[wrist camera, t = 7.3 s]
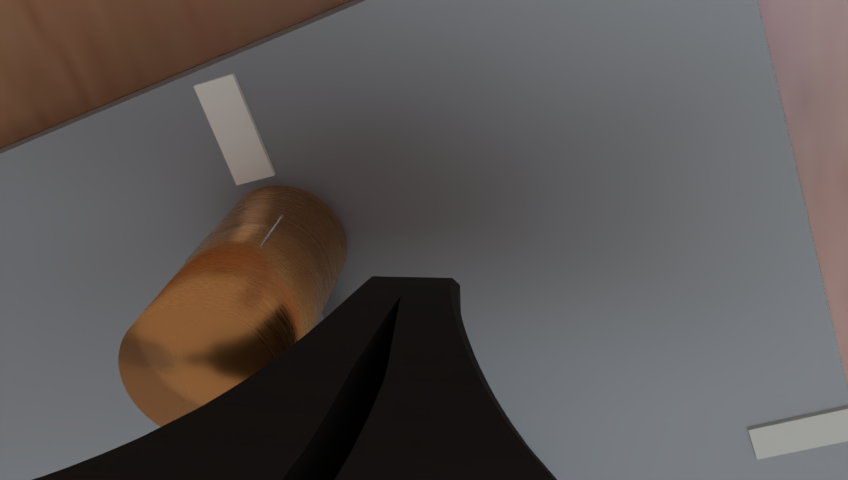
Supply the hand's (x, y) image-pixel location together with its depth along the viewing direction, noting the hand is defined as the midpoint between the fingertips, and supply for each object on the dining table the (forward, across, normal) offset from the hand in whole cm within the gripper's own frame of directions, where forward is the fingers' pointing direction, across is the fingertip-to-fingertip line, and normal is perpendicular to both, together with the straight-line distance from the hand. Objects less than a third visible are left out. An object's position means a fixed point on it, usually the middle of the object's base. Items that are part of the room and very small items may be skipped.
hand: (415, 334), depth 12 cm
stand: (+5, +1, +7) cm, 9 cm away
